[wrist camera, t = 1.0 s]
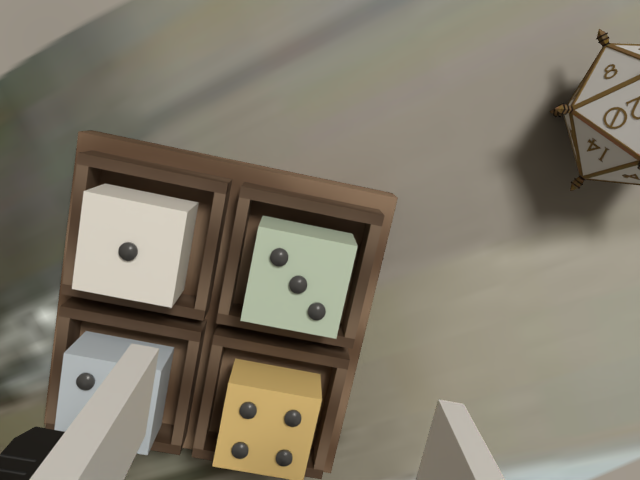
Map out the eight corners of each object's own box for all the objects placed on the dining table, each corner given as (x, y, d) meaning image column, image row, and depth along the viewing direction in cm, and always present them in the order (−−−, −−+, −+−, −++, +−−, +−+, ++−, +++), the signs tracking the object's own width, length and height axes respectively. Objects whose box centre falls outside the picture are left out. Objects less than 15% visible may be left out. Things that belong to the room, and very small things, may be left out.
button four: (303, 449, 34) (302, 484, 31) (220, 435, 33) (211, 468, 30) (320, 374, 33) (322, 401, 30) (235, 358, 32) (227, 384, 29)
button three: (333, 318, 32) (336, 340, 29) (246, 301, 32) (239, 322, 28) (352, 233, 31) (358, 247, 28) (262, 215, 31) (258, 227, 27)
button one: (184, 289, 31) (170, 309, 28) (93, 272, 31) (69, 290, 28) (198, 202, 30) (186, 212, 27) (105, 183, 30) (81, 191, 27)
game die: (562, 145, 37) (556, 247, 31) (539, 23, 33) (526, 111, 26) (727, 119, 33) (763, 231, 26) (727, -27, 28) (770, 64, 22)
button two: (161, 425, 33) (146, 457, 30) (75, 410, 33) (51, 441, 30) (174, 347, 32) (160, 372, 29) (85, 330, 32) (62, 354, 29)
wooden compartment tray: (329, 454, 38) (332, 493, 34) (57, 407, 37) (28, 442, 33) (392, 193, 34) (403, 203, 30) (91, 130, 33) (63, 132, 29)
